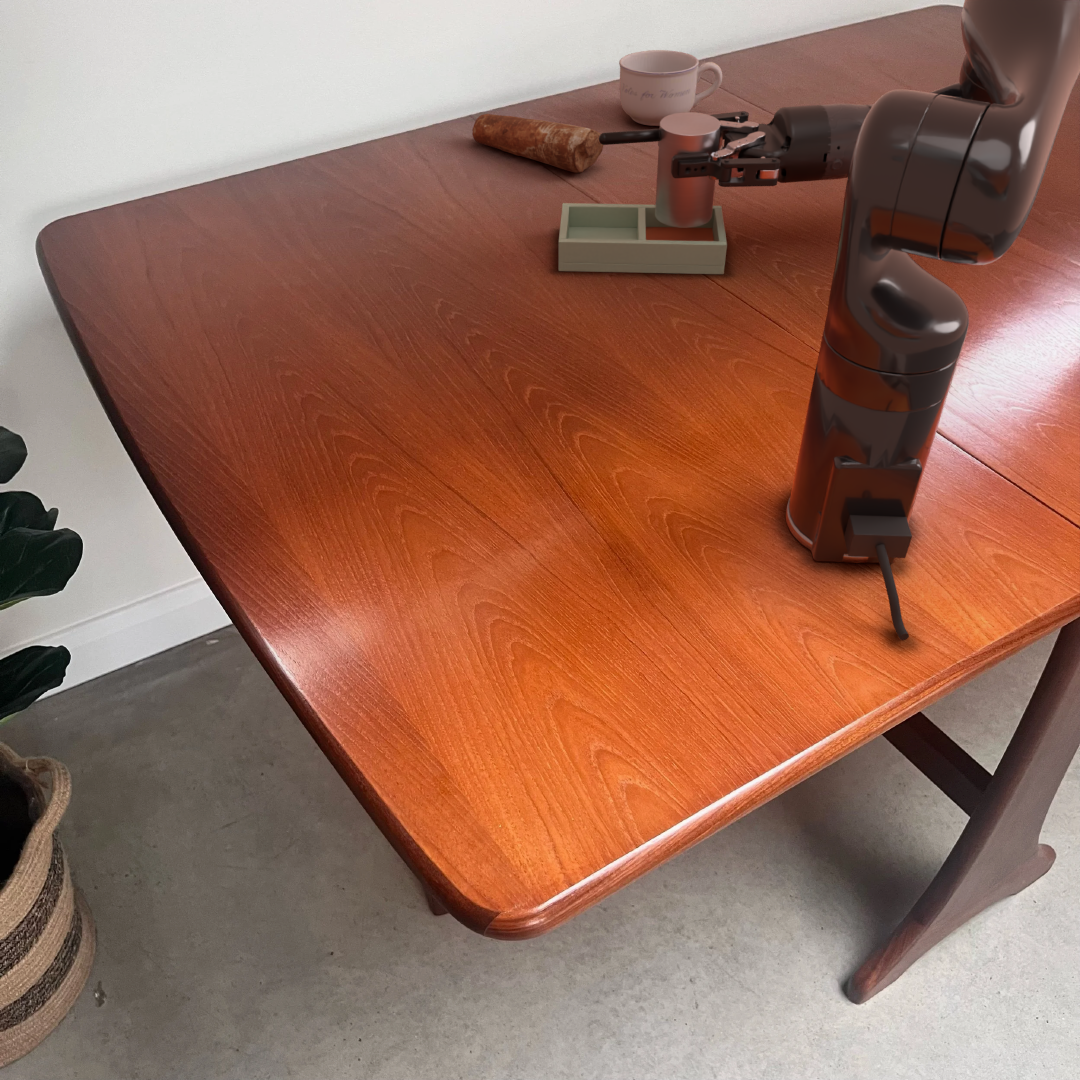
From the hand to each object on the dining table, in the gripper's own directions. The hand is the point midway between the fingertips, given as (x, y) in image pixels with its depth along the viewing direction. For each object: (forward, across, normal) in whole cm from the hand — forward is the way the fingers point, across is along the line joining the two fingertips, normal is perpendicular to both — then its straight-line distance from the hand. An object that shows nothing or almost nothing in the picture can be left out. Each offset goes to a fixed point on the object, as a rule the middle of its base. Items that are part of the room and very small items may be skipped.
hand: (665, 153), depth 109 cm
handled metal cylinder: (+1, 0, +7) cm, 7 cm away
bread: (+12, -28, +12) cm, 32 cm away
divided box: (+2, -1, +12) cm, 12 cm away
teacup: (-9, -38, +12) cm, 41 cm away
